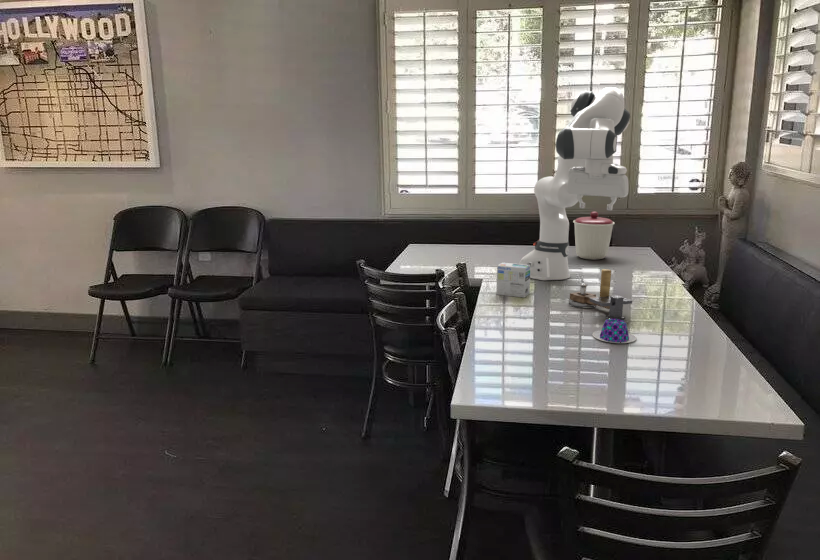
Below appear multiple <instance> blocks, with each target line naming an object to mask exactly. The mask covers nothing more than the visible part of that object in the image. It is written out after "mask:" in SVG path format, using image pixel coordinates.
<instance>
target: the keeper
mask: <svg viewBox="0 0 820 560" xmlns="http://www.w3.org/2000/svg"><path fill="white" fill-rule="evenodd" d="M596 297H597V298H590V302H592V303H595V304H597V305H600V306H602V307H601V308H603V307H605V306H610V309H608V310H609V311H608V315H606V316H605V318H606V317H607V318H606V319H608V318H610V319H619V320H623V321H625V320H626V318H625V317H624V316H623V310H624V305H631V304H633V300H632V299H630V298H627V297H624V296H621V295H620V294H618V295H609V296H607V297H600V296H599V297H598V296H596ZM624 319H625V320H624Z"/></svg>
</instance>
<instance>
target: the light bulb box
mask: <svg viewBox="0 0 820 560" xmlns="http://www.w3.org/2000/svg"><path fill="white" fill-rule="evenodd" d="M530 266H531V265H525V264H520V263H511V262H501V263H499V264H497V266H496V289H495V292H496V293H495V294H496V295H499V296H507V297H509V296H510V297H516V298H518V297H519V298H526V297H527V296H529V294H530V292H531V291H530V290H531V278H530Z"/></svg>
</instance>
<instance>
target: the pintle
mask: <svg viewBox="0 0 820 560" xmlns="http://www.w3.org/2000/svg"><path fill="white" fill-rule="evenodd" d="M588 285H589V284H588V283H585V282H582V283H579V287H580V288H579V292H580V295H582V296H585V295H586V292H587V289H588ZM568 305H569V306H571V307H573V306H574V308H578V307H593V308H595V307H597V306H596V305H593V304H589V303H580V302H577V301H573V300H570V298H569V299H568ZM594 306H595V307H594Z"/></svg>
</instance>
